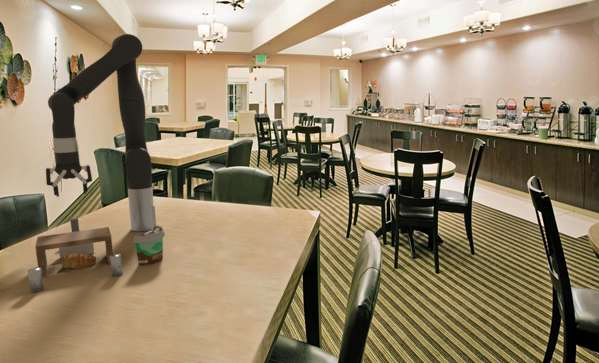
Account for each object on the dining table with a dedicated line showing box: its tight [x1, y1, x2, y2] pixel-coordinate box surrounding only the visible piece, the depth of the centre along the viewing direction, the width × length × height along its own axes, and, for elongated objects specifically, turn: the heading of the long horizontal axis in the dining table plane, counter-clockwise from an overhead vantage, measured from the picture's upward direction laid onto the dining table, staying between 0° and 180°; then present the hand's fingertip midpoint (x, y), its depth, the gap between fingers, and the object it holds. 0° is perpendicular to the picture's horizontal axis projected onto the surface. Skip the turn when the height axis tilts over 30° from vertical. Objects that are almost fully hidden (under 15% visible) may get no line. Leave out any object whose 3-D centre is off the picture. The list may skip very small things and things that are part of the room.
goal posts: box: [27, 253, 123, 293], centre depth 113 cm, size 23×3×6 cm, turn 119°
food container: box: [133, 224, 166, 266], centre depth 129 cm, size 12×6×10 cm, turn 168°
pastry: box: [61, 253, 97, 270], centre depth 126 cm, size 9×7×4 cm
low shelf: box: [34, 226, 114, 278], centre depth 125 cm, size 20×10×10 cm, turn 119°
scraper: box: [58, 216, 95, 260], centre depth 140 cm, size 10×18×9 cm, turn 29°
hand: (71, 194), depth 145 cm, fingers open, 8 cm apart
